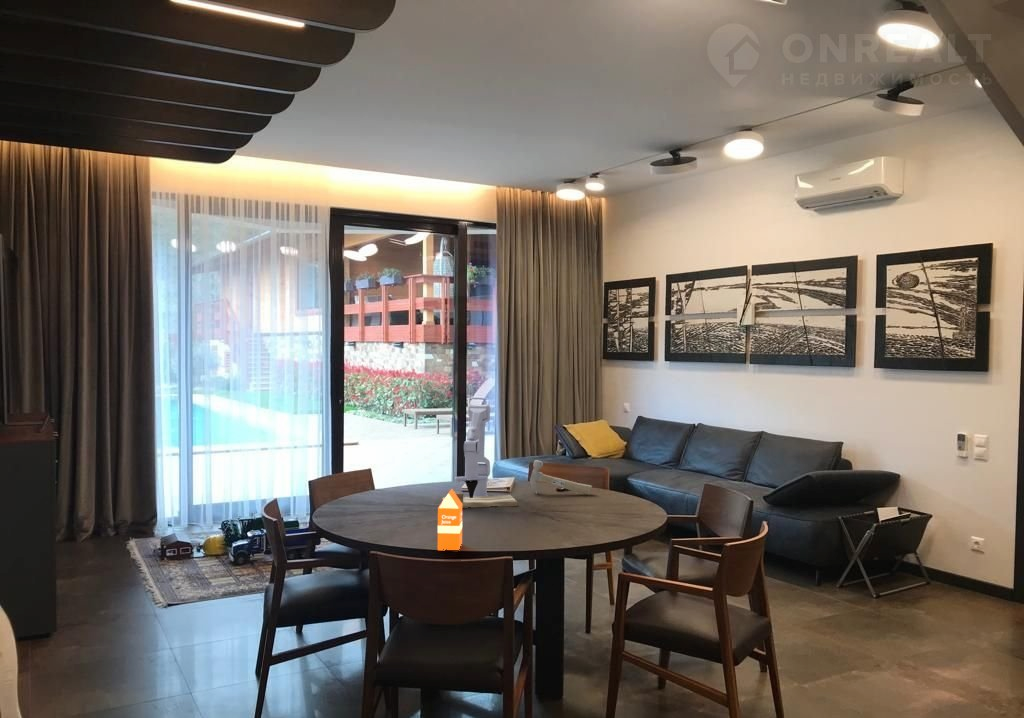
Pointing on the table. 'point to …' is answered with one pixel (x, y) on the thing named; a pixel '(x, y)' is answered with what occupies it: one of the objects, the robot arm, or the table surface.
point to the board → (488, 501)
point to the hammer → (556, 481)
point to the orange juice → (450, 523)
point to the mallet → (459, 496)
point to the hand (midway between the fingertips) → (471, 497)
